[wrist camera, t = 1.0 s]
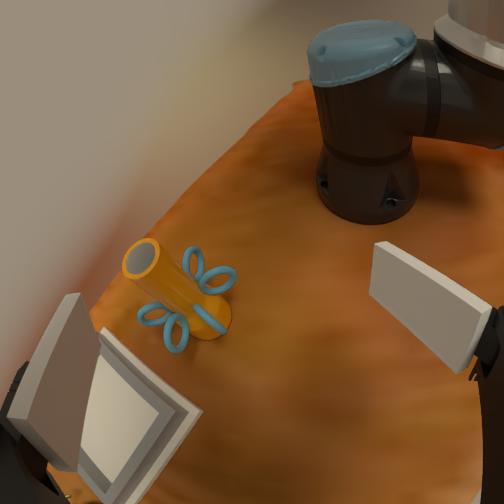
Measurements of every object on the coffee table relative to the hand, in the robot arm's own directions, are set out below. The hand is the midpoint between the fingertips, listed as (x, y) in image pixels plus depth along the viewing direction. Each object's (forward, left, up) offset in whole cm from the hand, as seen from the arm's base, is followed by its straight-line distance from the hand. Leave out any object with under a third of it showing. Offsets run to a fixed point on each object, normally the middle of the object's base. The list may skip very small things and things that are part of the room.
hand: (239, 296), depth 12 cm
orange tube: (0, -13, -21) cm, 25 cm away
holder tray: (+20, -17, -21) cm, 34 cm away
